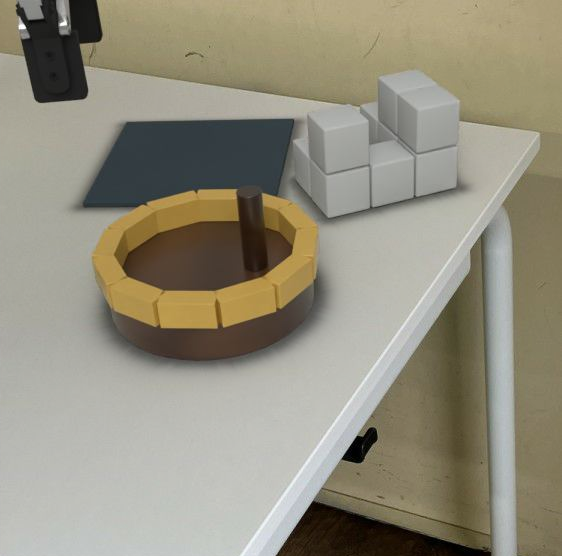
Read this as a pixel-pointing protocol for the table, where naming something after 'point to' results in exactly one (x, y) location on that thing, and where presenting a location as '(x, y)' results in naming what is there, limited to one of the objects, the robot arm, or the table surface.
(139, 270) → the peg stand
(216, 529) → the table surface
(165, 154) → the mat
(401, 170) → the puzzle cube
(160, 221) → the ring
